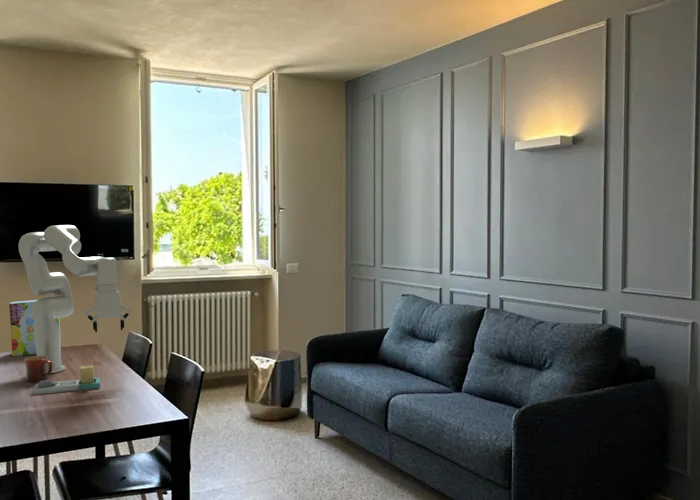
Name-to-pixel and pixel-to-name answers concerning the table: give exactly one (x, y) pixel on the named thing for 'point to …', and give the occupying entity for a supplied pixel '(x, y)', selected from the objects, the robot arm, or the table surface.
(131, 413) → the table surface
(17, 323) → the snack box
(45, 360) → the mug
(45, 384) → the grey hollow block
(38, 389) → the rail
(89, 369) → the wooden block
